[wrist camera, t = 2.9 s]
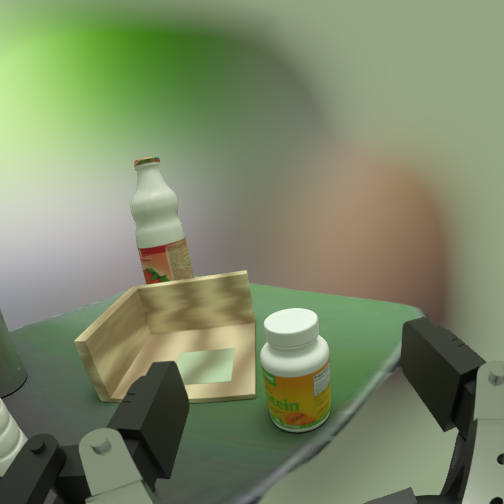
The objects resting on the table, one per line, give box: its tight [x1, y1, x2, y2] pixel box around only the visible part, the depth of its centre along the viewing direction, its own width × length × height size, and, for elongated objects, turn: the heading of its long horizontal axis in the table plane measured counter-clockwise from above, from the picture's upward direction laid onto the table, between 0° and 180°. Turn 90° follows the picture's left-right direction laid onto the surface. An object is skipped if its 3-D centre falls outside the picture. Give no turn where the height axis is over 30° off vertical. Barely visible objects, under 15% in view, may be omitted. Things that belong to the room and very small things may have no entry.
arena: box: [74, 270, 256, 403], centre depth 35 cm, size 18×18×8 cm
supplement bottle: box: [260, 308, 331, 432], centre depth 23 cm, size 5×5×10 cm
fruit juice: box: [131, 156, 194, 285], centre depth 55 cm, size 9×9×28 cm
